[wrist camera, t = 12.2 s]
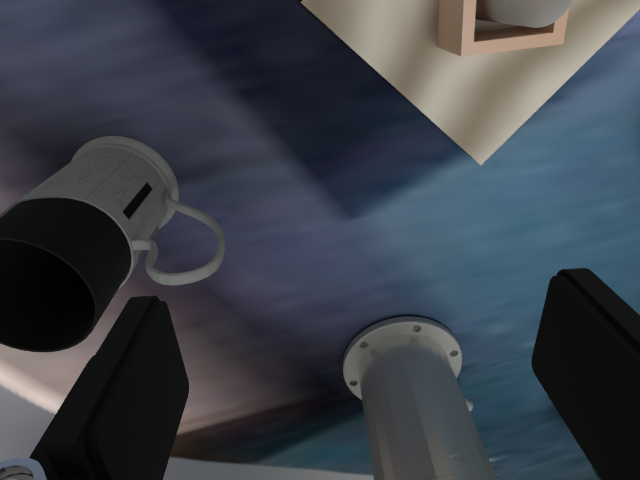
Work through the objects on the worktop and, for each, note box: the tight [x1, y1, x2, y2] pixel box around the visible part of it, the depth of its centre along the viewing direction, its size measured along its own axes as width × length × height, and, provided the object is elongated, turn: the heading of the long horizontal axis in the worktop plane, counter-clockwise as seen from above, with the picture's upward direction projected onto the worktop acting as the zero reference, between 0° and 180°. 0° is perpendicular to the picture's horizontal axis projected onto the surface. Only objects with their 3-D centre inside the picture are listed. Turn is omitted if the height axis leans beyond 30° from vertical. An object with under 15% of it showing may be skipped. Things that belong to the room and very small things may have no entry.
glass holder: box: [0, 136, 225, 352], centre depth 29 cm, size 9×14×15 cm, turn 91°
